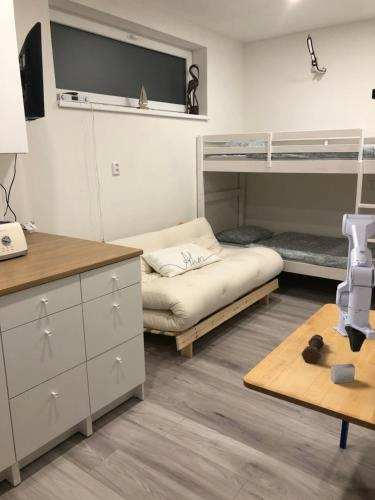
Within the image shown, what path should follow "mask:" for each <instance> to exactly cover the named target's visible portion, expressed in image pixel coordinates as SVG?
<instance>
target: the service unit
mask: <svg viewBox="0 0 375 500" xmlns="http://www.w3.org/2000/svg"><path fill="white" fill-rule="evenodd" d="M355 372H356V366H355V365H354V364H353V363H342V364H332V365H331V369H330V381H331V382H332V383H333V384H341V383H342V384H344V383H352V382H353V383H354V382H355V375H356V373H355Z"/></svg>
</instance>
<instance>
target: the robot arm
mask: <svg viewBox="0 0 375 500" xmlns="http://www.w3.org/2000/svg"><path fill="white" fill-rule="evenodd" d="M341 227H342V229H341V230H342V231H341V232H342V233H341V234H342V235H343V236H345V237H347V238H348V242H349V243H348V256H347V266H346V267H347V269H346V280H345V281H342V282H341V283H339V284H338V285H337V290H336V295H335V296H336V297H335V298H336V299H335V305H336V306H337V307H339V312H338V323H337V324H338V325H334V326H332V327H333V329H334V330H335V331H337V332H338V333H339V334H340V335H341V336H343V337H348V343H349V347H350V351H351V352H352V353H359V352H361V349H362V346H363V344H364V342H365V340H366V339H367V340H373V339H375V330H374V329H373V327H372V325H371V323H370V322H369V321H370V313H371V312H370V311H371V303H372V302H371V300H372V290H373V288H374V286H375V265H374V264H373V258H372V257H373V256H372V250H371V249H369V247H368V239H369V238H370V237H372V236H373V235H374V234H375V214H353V213H352V214H351V213H344V214H343V216H342V226H341Z"/></svg>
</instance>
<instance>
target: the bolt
mask: <svg viewBox="0 0 375 500" xmlns="http://www.w3.org/2000/svg"><path fill="white" fill-rule="evenodd" d="M307 342H308V345H306V347H304V349H303V351H302V352H301V357H302V359H303V361H304V362H305V363H307V364H310V365H311V364H312V365H316V364H317V363H318V362H319V361H320V359H321V358H322V355H321V353H320V351H321V350H322V348H323V347H324V345H325V342H324V338H323V337H322V335H320V334H316V333H315V334H314V335H312V336H311V337H310V339H309V340H308V341H307Z"/></svg>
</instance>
